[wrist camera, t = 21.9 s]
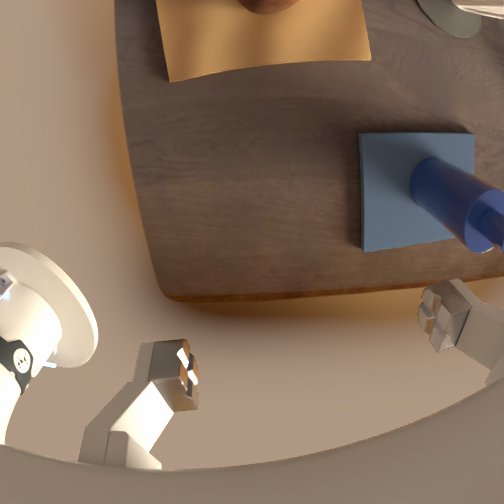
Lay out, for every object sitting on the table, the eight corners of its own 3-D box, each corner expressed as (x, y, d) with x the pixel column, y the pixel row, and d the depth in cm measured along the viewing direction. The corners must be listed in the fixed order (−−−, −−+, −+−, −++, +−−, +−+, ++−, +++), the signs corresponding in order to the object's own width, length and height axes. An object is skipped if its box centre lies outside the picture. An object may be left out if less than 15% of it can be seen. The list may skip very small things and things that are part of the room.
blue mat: (360, 248, 36) (363, 252, 35) (358, 133, 29) (361, 134, 28) (461, 232, 35) (465, 236, 34) (470, 132, 28) (475, 134, 27)
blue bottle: (408, 210, 32) (479, 280, 19) (409, 157, 29) (496, 207, 16) (449, 205, 32) (524, 267, 19) (452, 156, 29) (539, 202, 16)
